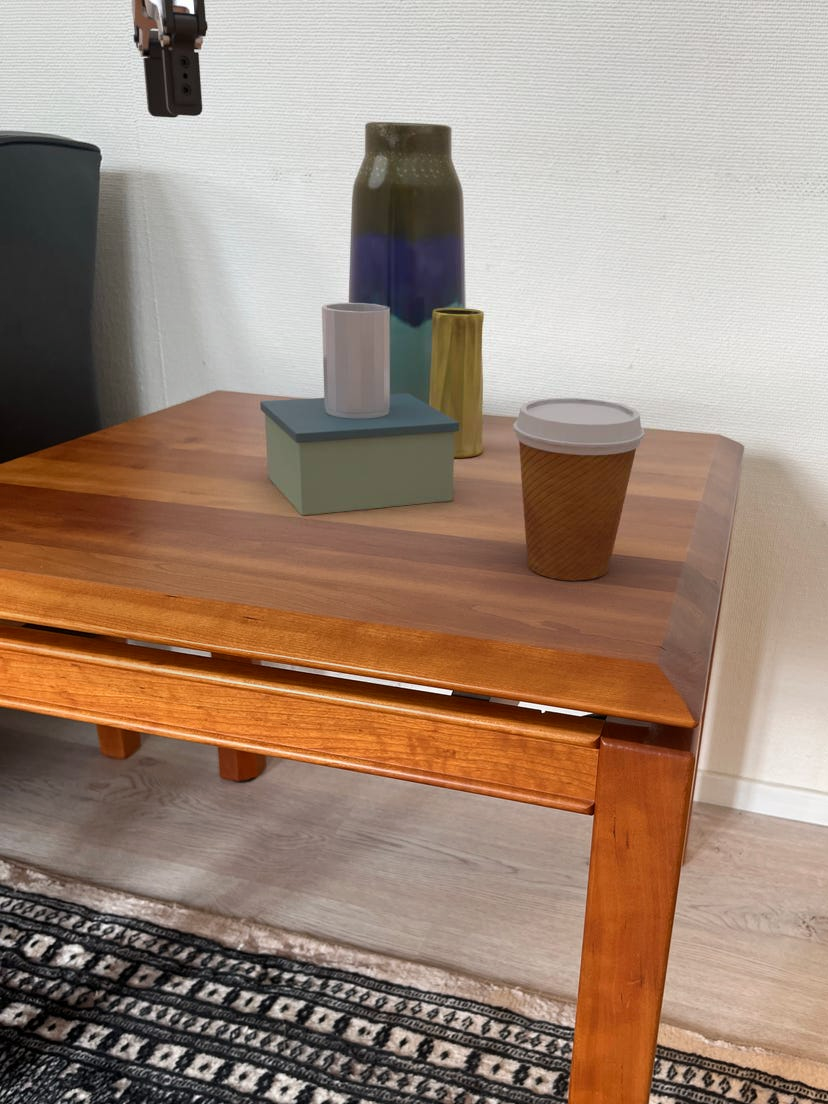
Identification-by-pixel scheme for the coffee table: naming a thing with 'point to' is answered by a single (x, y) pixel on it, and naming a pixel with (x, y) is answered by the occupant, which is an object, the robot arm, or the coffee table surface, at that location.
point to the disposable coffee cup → (574, 482)
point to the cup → (356, 360)
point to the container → (359, 455)
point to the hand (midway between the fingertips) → (174, 116)
